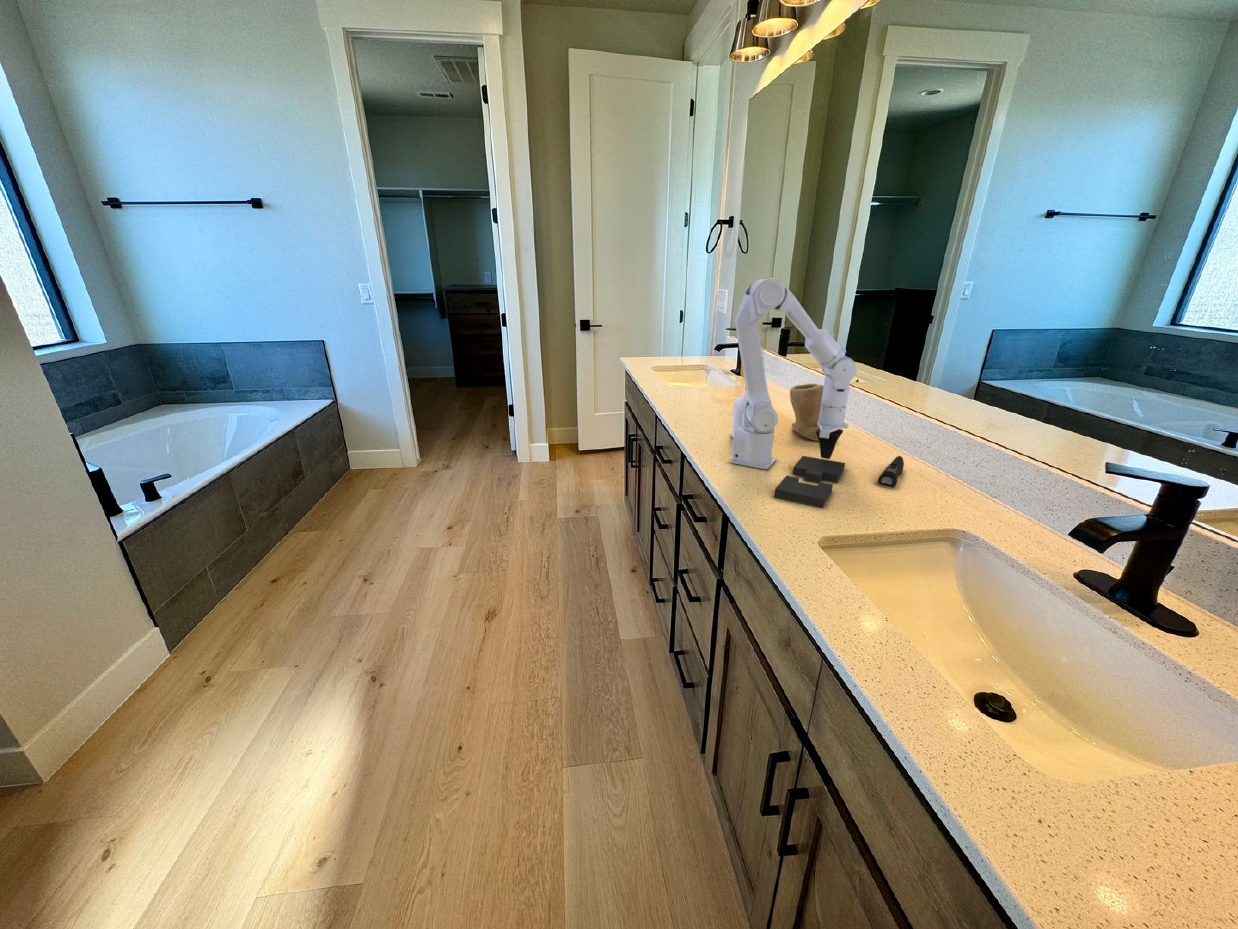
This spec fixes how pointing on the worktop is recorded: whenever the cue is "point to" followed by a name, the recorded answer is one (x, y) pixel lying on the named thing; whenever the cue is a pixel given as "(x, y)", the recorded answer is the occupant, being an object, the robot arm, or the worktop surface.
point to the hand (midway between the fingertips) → (825, 457)
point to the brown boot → (806, 408)
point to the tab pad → (818, 469)
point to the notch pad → (803, 492)
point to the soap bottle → (739, 410)
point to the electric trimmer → (891, 473)
